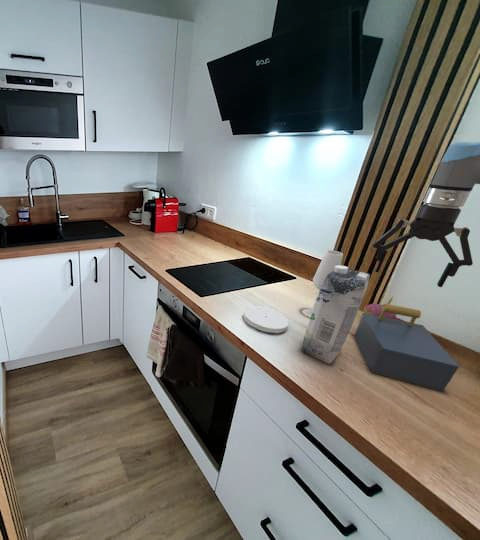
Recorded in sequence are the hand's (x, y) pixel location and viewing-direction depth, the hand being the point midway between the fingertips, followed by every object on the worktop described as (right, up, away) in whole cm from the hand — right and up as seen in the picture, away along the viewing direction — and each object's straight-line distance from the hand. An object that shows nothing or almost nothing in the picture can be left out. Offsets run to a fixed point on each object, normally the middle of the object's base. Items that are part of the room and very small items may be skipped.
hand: (406, 278), depth 84 cm
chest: (-6, -24, -2) cm, 24 cm away
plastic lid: (-35, -16, +14) cm, 41 cm away
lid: (-5, -17, -4) cm, 18 cm away
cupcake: (+4, -17, +15) cm, 23 cm away
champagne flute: (-14, -14, +20) cm, 28 cm away
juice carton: (-25, -22, +1) cm, 34 cm away
